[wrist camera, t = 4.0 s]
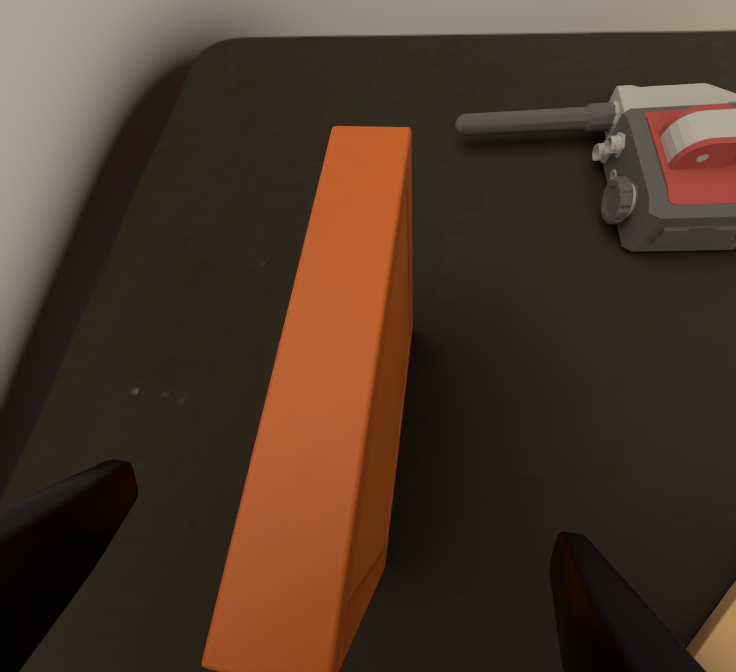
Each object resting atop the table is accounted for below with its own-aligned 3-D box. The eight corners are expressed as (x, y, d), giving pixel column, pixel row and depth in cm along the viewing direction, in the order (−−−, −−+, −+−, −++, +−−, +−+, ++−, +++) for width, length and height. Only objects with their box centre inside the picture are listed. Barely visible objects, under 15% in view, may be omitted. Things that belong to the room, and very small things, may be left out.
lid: (384, 569, 15) (327, 701, 5) (338, 560, 15) (196, 670, 5) (412, 327, 19) (412, 125, 9) (374, 324, 19) (331, 124, 9)
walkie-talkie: (842, 110, 21) (452, 131, 23) (945, 16, 17) (460, 53, 19) (922, 253, 18) (457, 261, 20) (1073, 179, 14) (469, 199, 16)
